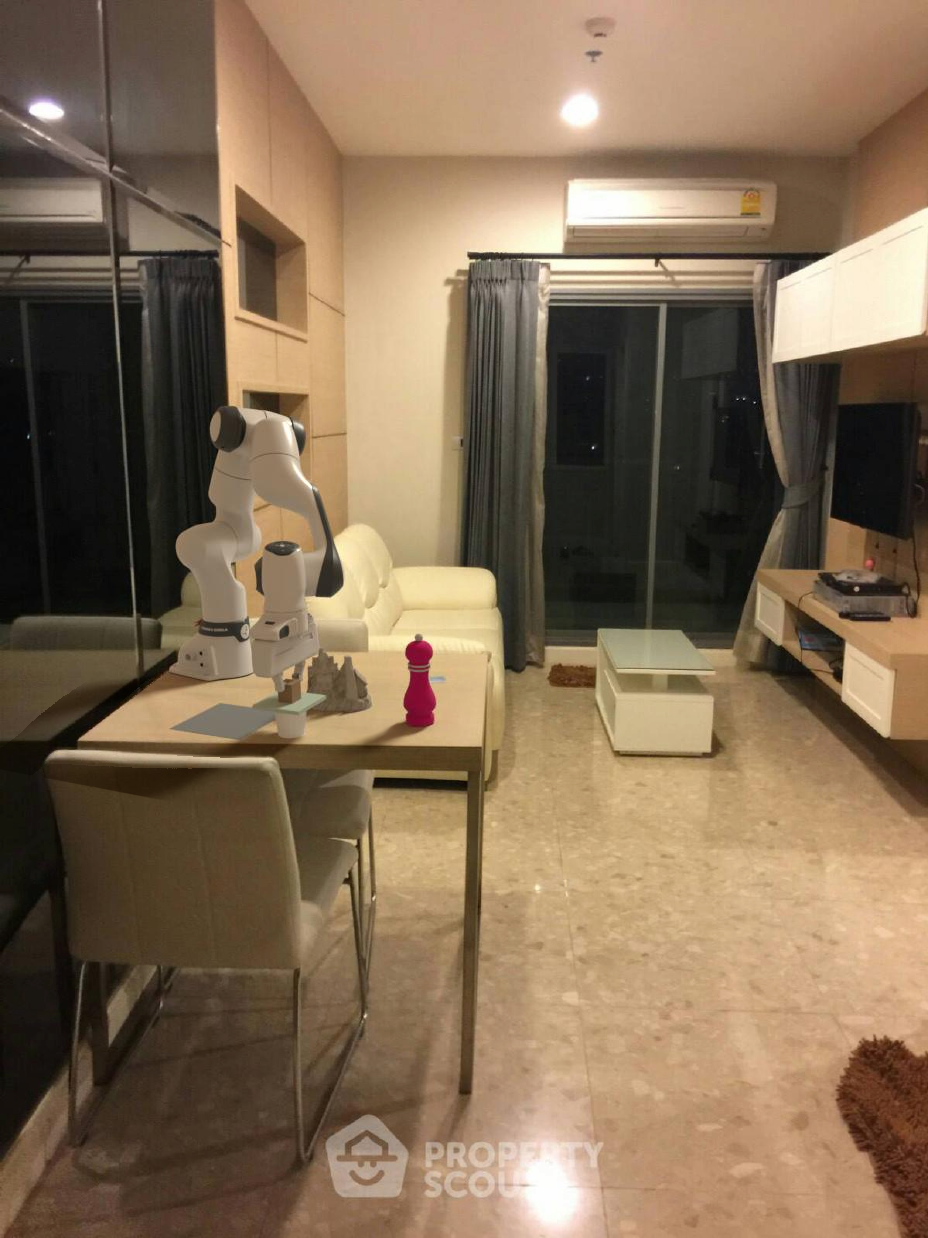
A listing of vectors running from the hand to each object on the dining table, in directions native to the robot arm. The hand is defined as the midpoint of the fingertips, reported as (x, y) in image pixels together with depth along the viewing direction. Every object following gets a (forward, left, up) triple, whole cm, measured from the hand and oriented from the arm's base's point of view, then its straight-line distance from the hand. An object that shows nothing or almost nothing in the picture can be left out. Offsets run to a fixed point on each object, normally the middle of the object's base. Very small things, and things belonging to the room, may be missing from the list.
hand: (289, 686), depth 192 cm
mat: (-17, +2, -11) cm, 20 cm away
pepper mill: (+22, +17, -11) cm, 30 cm away
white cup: (0, 0, -11) cm, 11 cm away
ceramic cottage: (-1, +23, -11) cm, 25 cm away
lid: (0, 0, -4) cm, 4 cm away
